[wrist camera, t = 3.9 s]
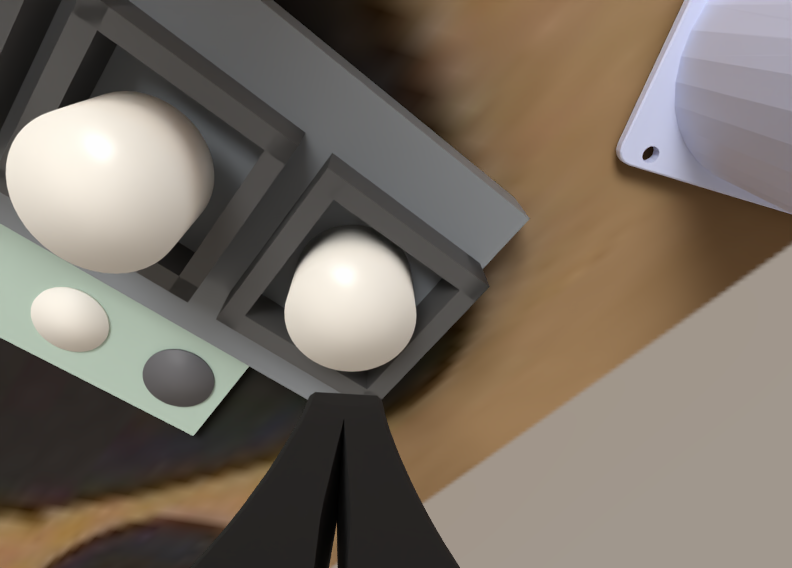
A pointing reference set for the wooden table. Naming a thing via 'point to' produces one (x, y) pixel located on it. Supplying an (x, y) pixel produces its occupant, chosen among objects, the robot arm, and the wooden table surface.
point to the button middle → (110, 180)
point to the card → (108, 337)
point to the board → (263, 168)
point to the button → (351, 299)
